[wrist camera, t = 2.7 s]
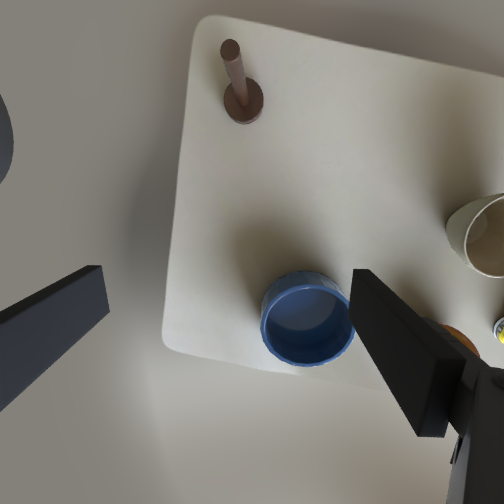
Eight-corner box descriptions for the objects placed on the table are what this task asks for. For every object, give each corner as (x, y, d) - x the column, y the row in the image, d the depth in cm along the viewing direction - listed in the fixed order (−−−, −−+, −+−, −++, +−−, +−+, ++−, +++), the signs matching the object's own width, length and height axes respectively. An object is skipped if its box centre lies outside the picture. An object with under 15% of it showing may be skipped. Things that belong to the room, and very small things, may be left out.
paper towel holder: (224, 122, 34) (195, 85, 19) (227, 79, 32) (198, 5, 18) (261, 126, 33) (259, 91, 19) (265, 83, 32) (267, 12, 18)
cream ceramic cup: (519, 211, 35) (581, 221, 28) (466, 270, 38) (510, 292, 31) (462, 173, 34) (512, 173, 27) (412, 237, 37) (445, 251, 30)
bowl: (256, 340, 43) (255, 361, 38) (266, 266, 39) (266, 279, 34) (336, 349, 43) (345, 371, 38) (353, 276, 39) (366, 290, 34)
